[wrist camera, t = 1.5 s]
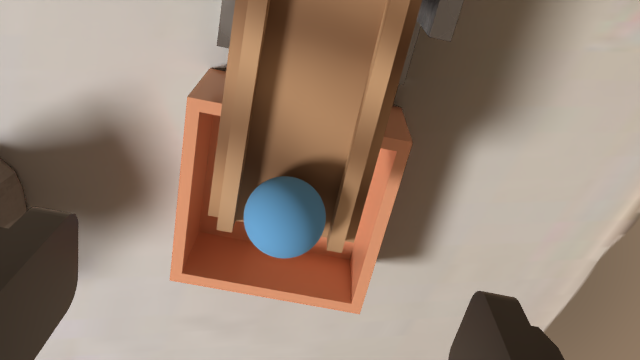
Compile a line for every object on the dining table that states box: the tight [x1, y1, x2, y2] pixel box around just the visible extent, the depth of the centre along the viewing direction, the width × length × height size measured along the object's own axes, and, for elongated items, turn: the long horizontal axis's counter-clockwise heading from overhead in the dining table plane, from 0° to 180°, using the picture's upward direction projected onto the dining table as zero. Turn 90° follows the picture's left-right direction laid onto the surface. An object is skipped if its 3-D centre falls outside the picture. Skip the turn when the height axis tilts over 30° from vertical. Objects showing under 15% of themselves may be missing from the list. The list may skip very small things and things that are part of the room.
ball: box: [244, 176, 326, 258], centre depth 26 cm, size 4×4×4 cm
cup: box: [170, 68, 413, 314], centre depth 39 cm, size 14×14×6 cm
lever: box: [208, 0, 422, 253], centre depth 22 cm, size 23×8×6 cm, turn 168°
